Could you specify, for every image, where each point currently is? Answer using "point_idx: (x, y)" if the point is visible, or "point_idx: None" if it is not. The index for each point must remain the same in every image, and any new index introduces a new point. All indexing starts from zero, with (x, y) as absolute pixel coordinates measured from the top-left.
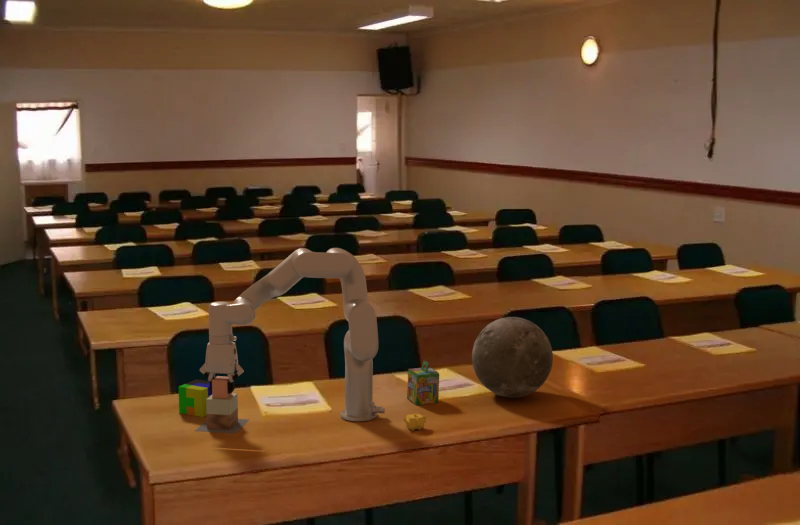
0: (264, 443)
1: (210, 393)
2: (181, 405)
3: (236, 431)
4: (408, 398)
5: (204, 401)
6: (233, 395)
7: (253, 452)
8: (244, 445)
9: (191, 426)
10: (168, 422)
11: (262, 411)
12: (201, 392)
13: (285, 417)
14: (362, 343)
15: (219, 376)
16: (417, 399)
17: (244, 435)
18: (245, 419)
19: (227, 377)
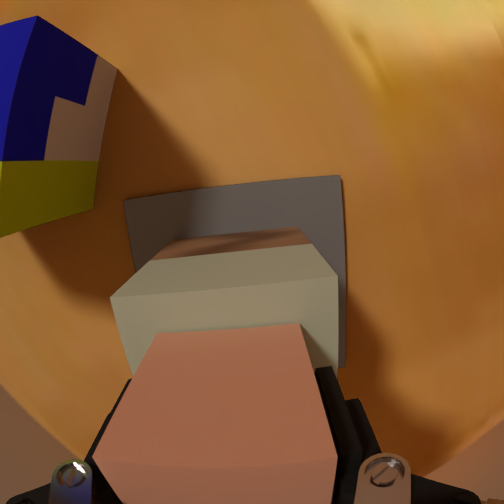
0: (451, 392)
1: (38, 131)
2: None
3: (340, 349)
4: None
5: (50, 198)
6: (323, 342)
7: (426, 448)
8: (396, 427)
9: (111, 324)
10: (18, 298)
11: (339, 29)
12: (6, 233)
13: (465, 102)
14: None
15: (134, 473)
16: None
17: (378, 360)
18: (321, 181)
19: (280, 489)
